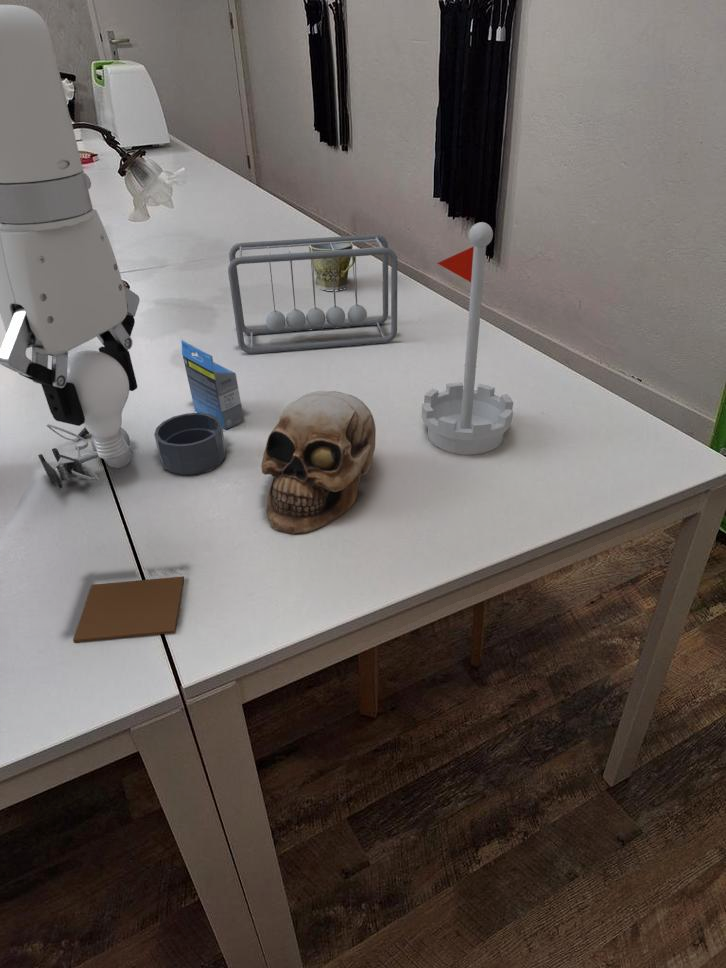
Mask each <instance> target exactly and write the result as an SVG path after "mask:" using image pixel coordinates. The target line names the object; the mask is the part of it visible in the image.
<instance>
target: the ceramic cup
mask: <svg viewBox="0 0 726 968" xmlns="http://www.w3.org/2000/svg"><path fill="white" fill-rule="evenodd" d="M352 244H353V245H352V248H354V247H353V246H354V243H352ZM331 245H332V246H330V244H327V245H312V246H311V249H312V251H311V252H316V251H331V248H332V247H333V249H332V250H346V249H351V243H343V244H331ZM308 252H310V246H308ZM351 260H352V257H339V258H334V259H333V258H332V261H331V258H324V259H313V264H312V267H314V276H315V278H316V283H317V287H318V289H319V288H320V289H323V290H333V278H334V263H335V290H340V289H344V288H346V289H347V285H348V278H349V270H350V269H351V268H353V264H354V265H355V256H354V257H353V262H351ZM332 263H333V276H332ZM350 263H351V264H350ZM320 289H319V290H320ZM323 290H322V291H323ZM344 290H345V289H344Z"/></svg>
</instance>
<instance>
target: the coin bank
mask: <svg viewBox="0 0 726 968" xmlns="http://www.w3.org/2000/svg"><path fill="white" fill-rule="evenodd" d="M376 431H377V430H376V423H375V419H374V416H373V414H372V412H371V410H370V408H369V407H368V406H367V405H366V404H365V402H364V401H363V400H361V399H360V398H358V397H356V396H354V395H352V394H348V393H345V392H341V391H336V390H318V391H312V392H309V393H306V394H304V395H302V396H300V397H299V398H297V399H295V400H293V401H291V402H290V403H289V404H288V405H287V406H286V407H285V408H284V409H283V411H282V412H281V414H280V417H279V420H278V422H277V424H276V425H275V426H274V428H273V429H272V431H271V432H270V433H269V435H268V437H267V440H266V444H265V449H264V452H263V456H262V460H261V465H260V469H261V473H262V474H263V475H271V476H272V481H271V485H270V487H269V492H268V497H267V504H266V505H267V506H266V517H267V520H268V521H269V524H270V526H271V528H272V529H273V530H275V531H281V532H283V533H287V534H291V535H292V534H293V535H294V534H299V533H309V532H313V531H315V530H317V529H319V528H321V527H323V526H325V525H327V524H328V523H329V522H331V521H333V520H335V519H338V518H339V517H340V516H341V515H342V514H344V513H345V512H348V511H350V509H352V508H353V506H354V504H355V502H356V499H357V495H358V491H359V490H358V489H359V485H360V480H361V476H362V475H366V474H367V473H368V472H369V470H370V468H371V466H372V463H373V458H374V453H375V450H376V440H377V439H376V438H377V437H376V435H377V434H376Z"/></svg>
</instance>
